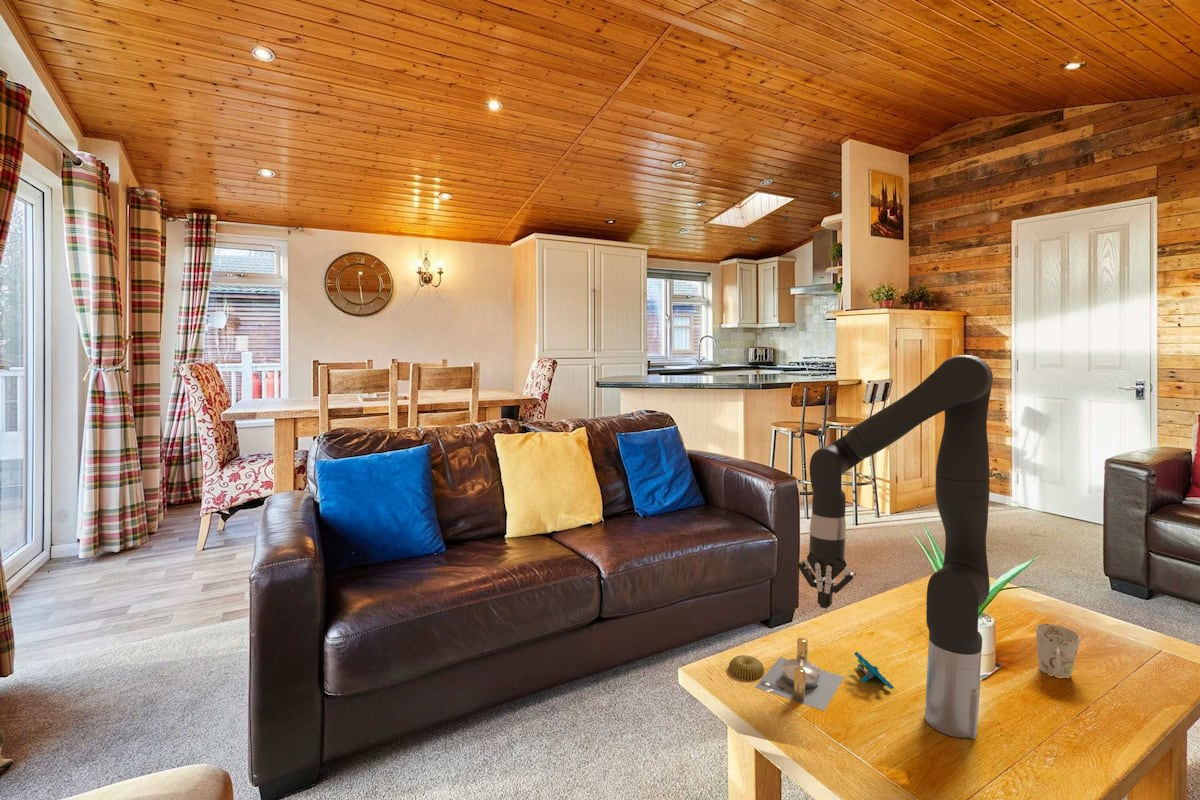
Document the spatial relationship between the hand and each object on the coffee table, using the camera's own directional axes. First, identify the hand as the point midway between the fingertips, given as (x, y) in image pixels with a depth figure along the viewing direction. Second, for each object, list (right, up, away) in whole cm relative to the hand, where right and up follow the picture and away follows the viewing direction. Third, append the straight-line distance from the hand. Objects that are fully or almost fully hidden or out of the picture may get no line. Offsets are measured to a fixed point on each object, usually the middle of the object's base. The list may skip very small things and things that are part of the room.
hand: (824, 606), depth 138 cm
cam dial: (-6, -16, -2) cm, 17 cm away
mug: (+55, -18, +3) cm, 58 cm away
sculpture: (-17, -18, +3) cm, 25 cm away
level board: (-6, -18, -2) cm, 19 cm away
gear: (+11, -18, 0) cm, 21 cm away
